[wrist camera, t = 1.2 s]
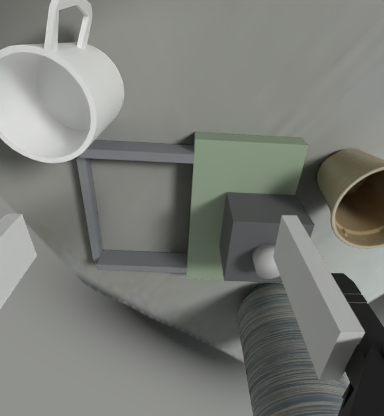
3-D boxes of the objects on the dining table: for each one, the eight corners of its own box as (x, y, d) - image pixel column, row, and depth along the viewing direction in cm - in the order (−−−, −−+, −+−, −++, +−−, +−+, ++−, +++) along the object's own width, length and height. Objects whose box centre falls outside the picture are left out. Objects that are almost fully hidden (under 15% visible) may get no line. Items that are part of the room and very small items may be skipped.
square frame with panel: (76, 125, 31) (30, 162, 22) (301, 137, 32) (344, 178, 23) (97, 262, 42) (72, 325, 33) (266, 269, 42) (287, 332, 33)
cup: (145, 21, 26) (123, 14, 18) (113, 139, 32) (84, 177, 23) (54, -22, 25) (-19, -53, 16) (37, 111, 30) (-23, 140, 22)
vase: (220, 303, 46) (242, 501, 27) (275, 263, 42) (350, 465, 22) (266, 333, 50) (315, 523, 31) (321, 299, 46) (419, 496, 26)
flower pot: (303, 212, 37) (331, 256, 30) (300, 144, 33) (332, 177, 25) (378, 197, 36) (426, 239, 29) (387, 125, 31) (447, 153, 24)
